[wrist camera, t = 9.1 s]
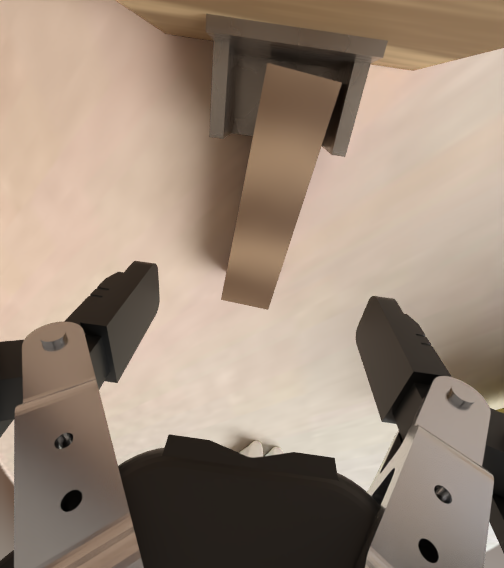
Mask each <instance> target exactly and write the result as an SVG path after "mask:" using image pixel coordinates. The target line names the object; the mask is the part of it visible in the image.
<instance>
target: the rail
mask: <svg viewBox="0 0 504 568" xmlns="http://www.w3.org/2000/svg"><path fill="white" fill-rule="evenodd" d="M341 84H342V83H341V82H338V81H334V80H330V79H326V78H323V77H319V76H315V75H311V74H308V73H304V72H300V71H297V70H293V69H289V68H285V67H282V66H278V65H274V64H270V63H267V67H266V73H265V78H264V83H263V88H262V93H261V98H260V103H259V108H258V114H257V119H256V124H255V129H254V134H253V139H252V144H251V149H250V154H249V160H248V165H247V170H246V175H245V180H244V185H243V190H242V195H241V200H240V206H239V211H238V216H237V221H236V226H235V231H234V236H233V241H232V247H231V252H230V257H229V262H228V267H227V272H226V277H225V282H224V287H223V293H222V298H221V300H225V301H230V302H235V303H240V304H244V305H249V306H254V307H258V308H263V309H268V308H269V305H270V302H271V299H272V296H273V293H274V290H275V287H276V284H277V281H278V277H279V274H280V271H281V268H282V265H283V262H284V259H285V256H286V253H287V250H288V247H289V244H290V241H291V238H292V235H293V231H294V228H295V225H296V222H297V219H298V216H299V213H300V210H301V207H302V204H303V201H304V198H305V195H306V192H307V189H308V185H309V182H310V179H311V176H312V173H313V170H314V167H315V164H316V161H317V158H318V155H319V152H320V149H321V146H322V142H323V139H324V136H325V133H326V130H327V127H328V124H329V121H330V118H331V115H332V112H333V109H334V106H335V103H336V100H337V96H338V93H339V90H340V87H341Z"/></svg>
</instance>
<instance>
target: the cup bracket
mask: <svg viewBox="0 0 504 568" xmlns="http://www.w3.org/2000/svg"><path fill="white" fill-rule="evenodd" d="M206 32H207V34H208V35H209V36H210V37H211V38H212V39H213V40H214V43H213V66H212V89H211V113H210V136H209V137H214V138H220V139H224V138H225V137H227V136H228V135H230V134H231V133H235V134H242V135H249V136H253V134H254V129H255V124H256V119H257V114H258V108H259V103H260V98H261V93H262V88H263V83H264V78H265V73H266V67H267V63H270V64H274V65H278V66H282V67H285V68H289V69H293V70H297V71H300V72H304V73H308V74H311V75H315V76H319V77H323V78H326V79H330V80H334V81H338V82H341V83H342V84H341V87H340V90H339V93H338V96H337V100H336V103H335V106H334V109H333V112H332V115H331V118H330V121H329V124H328V127H327V130H326V133H325V136H324V139H323V142H322V147H323V148H324V149H326V150H327V151H328V152H329V153H330V154H331V155H337V156H344V157H345V155H346V152H347V148H348V144H349V141H350V137H351V133H352V130H353V126H354V122H355V119H356V115H357V111H358V108H359V104H360V100H361V96H362V93H363V89H364V85H365V82H366V78H367V74H368V71H369V67H370V63H373V62H375V61H377V60H379V59H382V58H383V56H384V53H385V49H386V46H387V42H388V41H386V40H379V39H373V38H366V37H359V36H353V35H346V34H339V33H333V32H326V31H319V30H313V29H306V28H299V27H293V26H286V25H279V24H273V23H266V22H259V21H253V20H246V19H239V18H233V17H226V16H219V15H212V14H206Z"/></svg>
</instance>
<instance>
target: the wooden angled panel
mask: <svg viewBox="0 0 504 568" xmlns="http://www.w3.org/2000/svg"><path fill="white" fill-rule="evenodd" d="M116 1H117V2H119V3H120V4H122V5H123V6H125V7H126V8H128V9H129V10H131V11H132V12H134V13H135V14H137V15H138V16H140V17H141V18H143V19H144V20H146V21H147V22H149V23H150V24H152V25H153V26H155V27H156V28H158V29H159V30H161V31H162V32H164V33H165V34H171V35H178V36H184V37H191V38H198V39H205V40H211V41H214V40H213V39H212V38H211V37H210V36H209V35H208V34H207V32H206V14H212V15H219V16H226V17H233V18H239V19H246V20H253V21H259V22H266V23H273V24H279V25H286V26H293V27H299V28H306V29H313V30H319V31H326V32H333V33H339V34H346V35H353V36H359V37H366V38H373V39H379V40H386V41H388V42H387V46H386V49H385V53H384V56H383V58H382V59H379V60H377V61H375V62H373V63H370V64H372V65H379V66H386V67H393V68H399V69H406V70H413V71H414V70H418V69H422V68H426V67H430V66H433V65H437V64H441V63H445V62H449V61H453V60H457V59H461V58H465V57H469V56H473V55H477V54H481V53H485V52H489V51H493V50H497V49H501V48H504V0H116Z"/></svg>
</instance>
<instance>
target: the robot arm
mask: <svg viewBox="0 0 504 568" xmlns="http://www.w3.org/2000/svg"><path fill="white" fill-rule="evenodd" d="M158 307H159V280H158V267H157V265H156V264H154V263H147V262H140V261H134V262H133V263H132V264H131V265H130V266H129V267H128V268H127V270H126V271H125V272H124V273H123V272H117V273H115V274H113V275H111V276H109V277H108V278H106V279H105V280H104V281H103V282H102V283H101V284H100V285H99V286H98V287H97V289H95V290H94V291H93V292H92V293H91V295H90V296H88V297H87V298H86V299H85V301H84V302H83V303H82V304H81V305H80V306H79V307H78V308H77V309H76V310H75V311H74V312H73V313H72V314H71V315H70V316H69V317H68V318H67V319H66V320H65V321H64V322H55V323H50V324H47V325H44V326H42V327H40V328H38V329H36V330H34V331H33V332H31V333H30V334H29V335H28V336H27V337H26V338H25V340H16V341H5V342H0V437H1V436H2V434H3V433H4V432H5V430H6V429H7V428H8V426H9V425H10V424H11V422H12V421H13V420H14V550H13V551H12V552H11V553H9V554H8V555H7V556H5V557H4V558H3V559H2V560H1V561H0V568H484V559H485V551H486V543H487V535H488V527H489V522H490V524H491V526H492V528H493V531H494V533H495V535H496V537H497V539H498V542H499V544H500V546H501V548H502V550H503V553H504V413H502V412H499V411H496V410H494V409H491V408H490V407H489V405H488V403H487V401H486V400H485V399H484V397H483V396H482V395H481V394H480V393H479V392H478V391H477V390H475V389H474V388H473V387H471V386H470V385H468V384H467V383H465V382H463V381H461V380H459V379H456V378H453V377H451V375H450V374H449V372H448V371H447V369H446V367H445V366H444V364H443V363H442V361H441V359H440V358H439V356H438V355H437V353H436V351H435V350H434V348H433V347H432V346H431V343H430V342H429V340H428V339H427V337H425V334H424V332H423V331H422V329H421V328H420V326H419V324H417V323H416V322H415V321H414V320H413V319H412V318H411V317H410V316H408V315H407V314H404V313H403V312H402V310H401V308H400V307H399V305H398V303H397V302H396V300H395V299H391V298H384V297H377V296H372V297H371V298H370V299H369V301H368V304H367V306H366V308H365V311H364V313H363V315H362V318H361V320H360V323H359V325H358V327H357V331H356V343H357V347H358V350H359V353H360V356H361V359H362V362H363V365H364V368H365V371H366V374H367V377H368V381H369V384H370V387H371V390H372V393H373V396H374V399H375V402H376V405H377V408H378V411H379V414H380V417H381V420H382V422H387V423H394V424H397V426H398V429H399V431H398V432H397V433H396V435H395V437H394V439H393V441H392V443H391V445H390V447H389V449H388V451H387V453H386V456H385V458H384V460H383V462H382V464H381V466H380V468H379V470H378V472H377V475H376V477H375V479H374V481H373V483H372V484H371V486H370V488H369V489H368V491H367V492H366V491H365V490H364V489H362V488H361V487H360V486H359V485H357V484H356V483H354V482H353V481H352V480H350V479H348V478H346V477H345V476H343V475H341V474H339V473H337V470H336V464H335V458H331V457H324V456H317V455H310V454H303V453H296V452H292V453H285V454H277V455H270V456H263V457H254V458H252V457H248V456H245V455H243V454H240V453H238V452H236V451H233V450H231V449H229V448H226V447H224V446H222V445H219V444H217V443H215V442H213V441H210V440H204V439H197V438H190V437H183V436H176V435H169V436H168V439H167V442H166V445H165V448H159V449H155V450H151V451H147V452H144V453H142V454H139V455H137V456H135V457H133V458H131V459H129V460H127V461H125V462H123V463H122V464H120V465H119V466H118V464H117V460H116V456H115V452H114V448H113V444H112V441H111V437H110V433H109V429H108V425H107V421H106V417H105V413H104V409H103V405H102V401H101V397H100V393H99V389H100V387H101V386H102V384H103V382H104V381H108V382H115V383H118V381H119V379H120V377H121V376H122V374H123V372H124V370H125V368H126V367H127V365H128V363H129V361H130V360H131V358H132V356H133V354H134V352H135V351H136V349H137V347H138V345H139V344H140V342H141V340H142V338H143V337H144V335H145V333H146V331H147V329H148V328H149V326H150V324H151V322H152V321H153V319H154V317H155V315H156V313H157V311H158Z"/></svg>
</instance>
